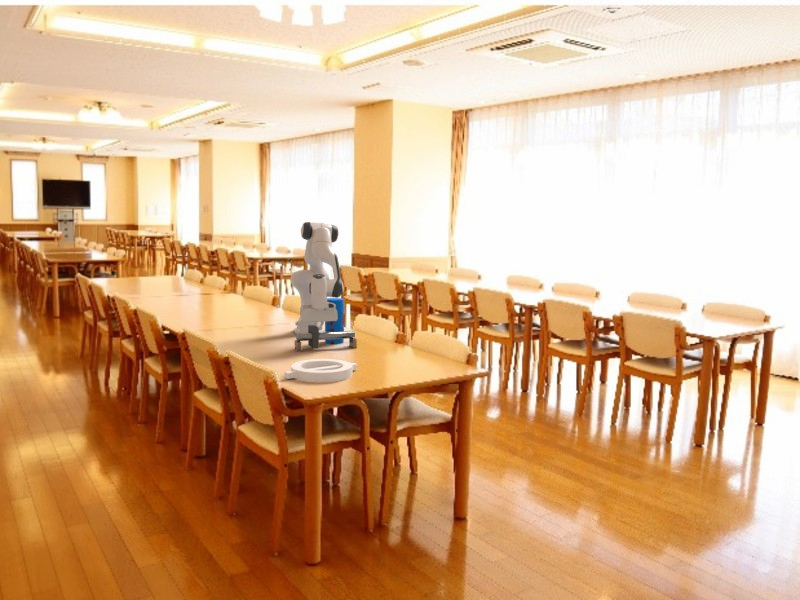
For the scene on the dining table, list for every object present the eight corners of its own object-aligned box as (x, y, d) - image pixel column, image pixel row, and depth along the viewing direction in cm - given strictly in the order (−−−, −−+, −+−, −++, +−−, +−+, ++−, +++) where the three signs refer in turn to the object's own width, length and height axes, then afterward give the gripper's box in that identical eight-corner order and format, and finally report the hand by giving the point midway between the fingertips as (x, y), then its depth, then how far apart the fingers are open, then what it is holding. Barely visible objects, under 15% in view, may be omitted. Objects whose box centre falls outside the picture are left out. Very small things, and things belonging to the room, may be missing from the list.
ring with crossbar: (282, 381, 295) (282, 370, 295) (302, 367, 323) (302, 357, 322) (343, 385, 290) (343, 374, 290) (358, 370, 318) (359, 360, 317)
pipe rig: (294, 349, 362) (294, 332, 361) (352, 345, 375) (352, 329, 373) (297, 351, 356) (297, 334, 355) (356, 348, 368) (356, 331, 367)
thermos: (340, 344, 377) (340, 300, 374) (322, 343, 379) (322, 299, 376) (346, 341, 388) (346, 298, 385) (328, 340, 390) (328, 297, 387)
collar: (308, 344, 367) (308, 325, 366) (313, 344, 368) (313, 324, 367) (313, 348, 357) (313, 328, 355) (318, 348, 358) (318, 328, 357)
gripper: (301, 305, 354) (301, 331, 356) (338, 304, 361) (338, 329, 363) (298, 304, 360) (298, 329, 361) (335, 303, 367) (335, 327, 369)
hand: (318, 329), depth 362 cm, fingers closed
